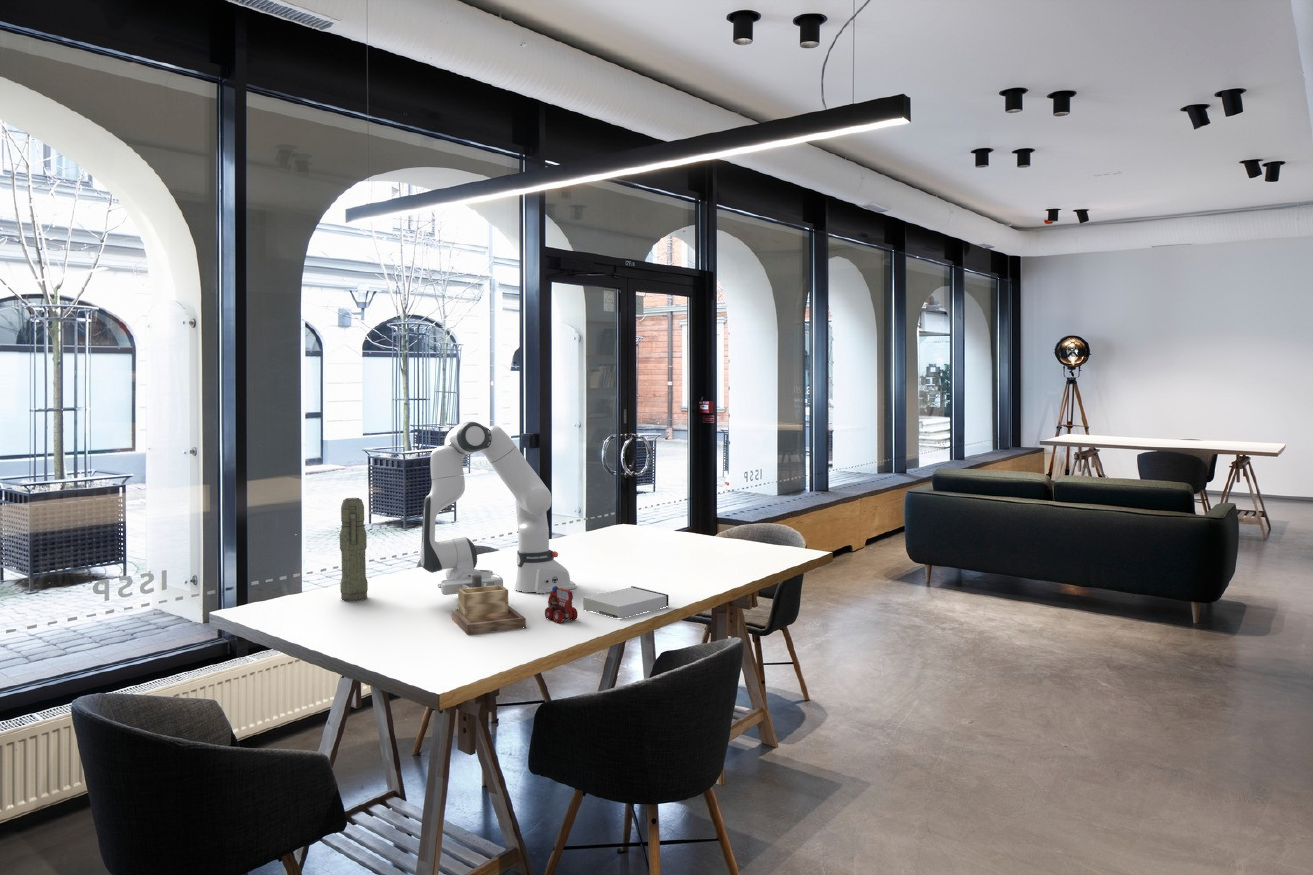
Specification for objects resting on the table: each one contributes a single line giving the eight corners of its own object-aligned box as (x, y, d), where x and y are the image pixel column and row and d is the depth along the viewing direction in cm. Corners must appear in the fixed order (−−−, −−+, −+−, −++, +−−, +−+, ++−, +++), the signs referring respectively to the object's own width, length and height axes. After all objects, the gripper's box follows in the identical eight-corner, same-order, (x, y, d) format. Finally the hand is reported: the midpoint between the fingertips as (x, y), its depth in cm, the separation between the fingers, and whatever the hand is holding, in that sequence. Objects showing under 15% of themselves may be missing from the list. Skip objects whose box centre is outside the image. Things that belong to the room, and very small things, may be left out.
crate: (496, 605, 296) (496, 572, 295) (508, 614, 284) (508, 580, 284) (454, 610, 290) (454, 576, 289) (464, 619, 278) (464, 584, 278)
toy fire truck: (559, 614, 292) (559, 582, 291) (580, 622, 282) (580, 589, 281) (541, 617, 287) (540, 585, 287) (562, 625, 278) (561, 592, 277)
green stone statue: (343, 603, 305) (341, 501, 303) (338, 596, 316) (336, 497, 314) (370, 600, 309) (368, 499, 307) (364, 593, 320) (362, 496, 318)
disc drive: (668, 609, 300) (668, 594, 300) (618, 621, 284) (618, 605, 284) (632, 600, 313) (632, 586, 312) (583, 611, 297) (582, 596, 296)
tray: (507, 613, 292) (507, 604, 292) (525, 627, 275) (525, 617, 275) (452, 619, 284) (452, 610, 284) (467, 634, 267) (467, 624, 267)
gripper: (435, 575, 298) (445, 583, 286) (496, 569, 307) (507, 577, 295) (436, 593, 298) (445, 602, 286) (496, 588, 307) (508, 596, 295)
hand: (477, 589), depth 290 cm, fingers closed on crate, 3 cm apart
